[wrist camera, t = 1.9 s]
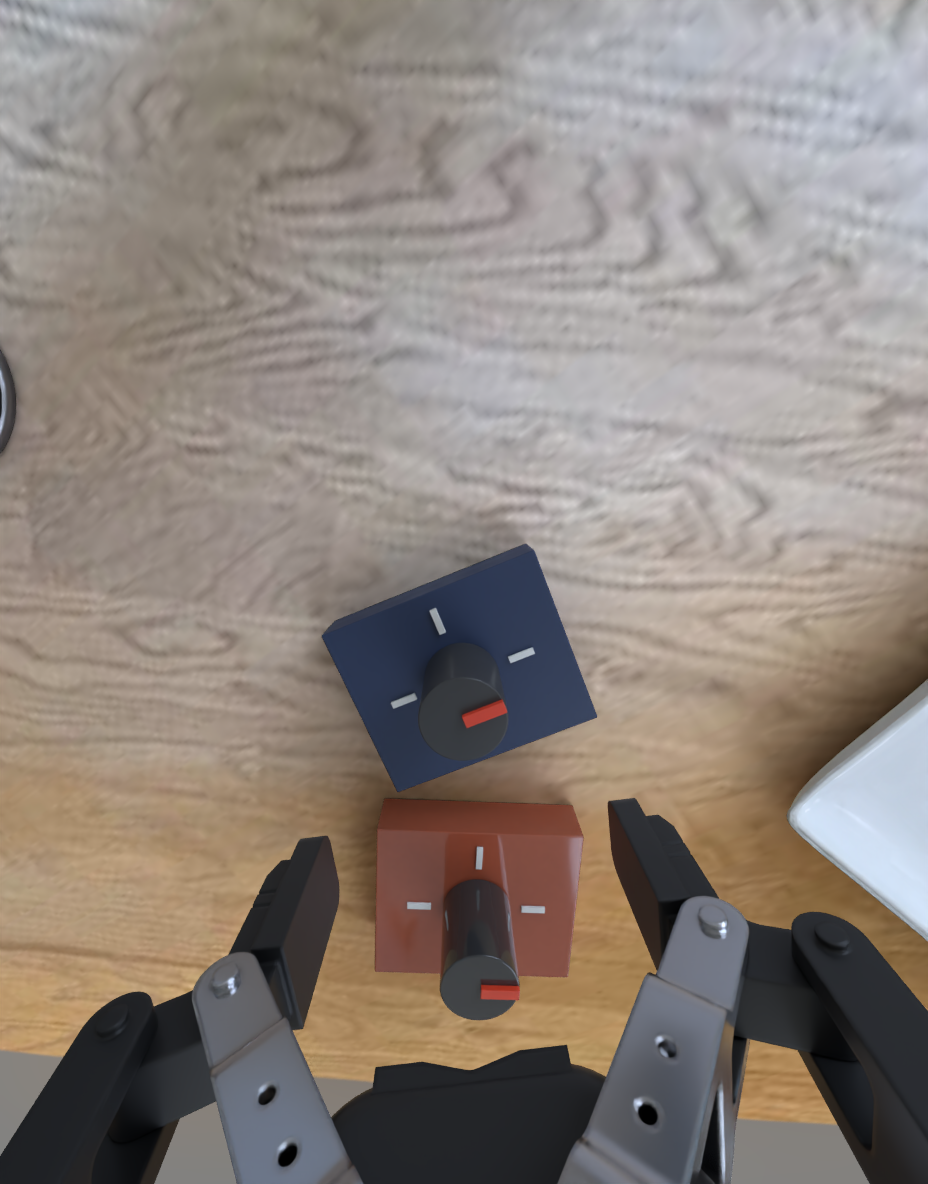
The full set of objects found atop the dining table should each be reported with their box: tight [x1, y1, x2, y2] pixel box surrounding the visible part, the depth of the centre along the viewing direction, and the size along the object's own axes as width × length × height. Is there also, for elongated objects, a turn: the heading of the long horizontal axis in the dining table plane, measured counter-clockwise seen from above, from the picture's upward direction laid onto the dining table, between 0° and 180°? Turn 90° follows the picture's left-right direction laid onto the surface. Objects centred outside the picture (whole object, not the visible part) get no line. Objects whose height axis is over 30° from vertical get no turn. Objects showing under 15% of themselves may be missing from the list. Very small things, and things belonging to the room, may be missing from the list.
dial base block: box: [375, 798, 584, 977], centre depth 32 cm, size 12×10×3 cm
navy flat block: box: [322, 544, 597, 792], centre depth 29 cm, size 12×10×3 cm
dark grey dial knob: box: [440, 879, 520, 1020], centre depth 28 cm, size 4×4×5 cm
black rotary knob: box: [418, 643, 508, 761], centre depth 25 cm, size 4×4×5 cm
